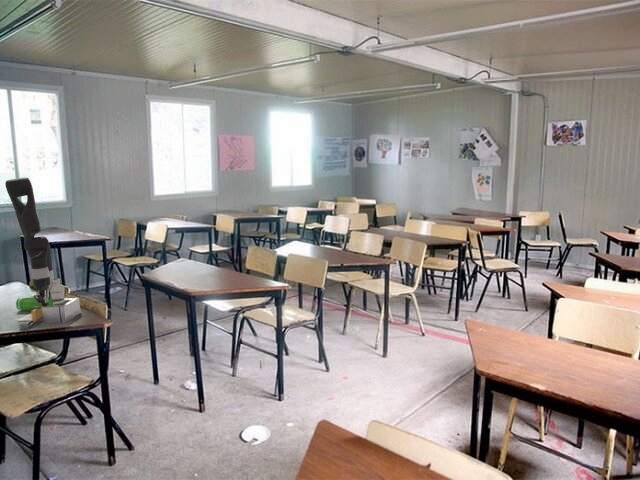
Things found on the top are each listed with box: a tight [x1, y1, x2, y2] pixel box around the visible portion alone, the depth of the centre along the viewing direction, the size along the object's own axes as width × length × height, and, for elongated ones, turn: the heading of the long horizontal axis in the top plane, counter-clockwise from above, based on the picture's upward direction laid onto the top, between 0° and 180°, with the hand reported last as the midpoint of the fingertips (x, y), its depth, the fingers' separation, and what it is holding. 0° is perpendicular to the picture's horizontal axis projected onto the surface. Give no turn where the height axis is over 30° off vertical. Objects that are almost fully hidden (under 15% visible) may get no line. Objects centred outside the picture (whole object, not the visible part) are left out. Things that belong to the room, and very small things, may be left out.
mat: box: [16, 313, 32, 323], centre depth 240 cm, size 10×8×1 cm
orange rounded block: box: [30, 306, 44, 322], centre depth 234 cm, size 8×3×7 cm, turn 1°
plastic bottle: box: [49, 277, 65, 305], centre depth 236 cm, size 6×7×20 cm
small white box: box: [18, 297, 82, 330], centre depth 233 cm, size 23×18×8 cm
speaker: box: [15, 295, 52, 312], centre depth 253 cm, size 18×7×8 cm, turn 93°
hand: (45, 309), depth 240 cm, fingers closed
